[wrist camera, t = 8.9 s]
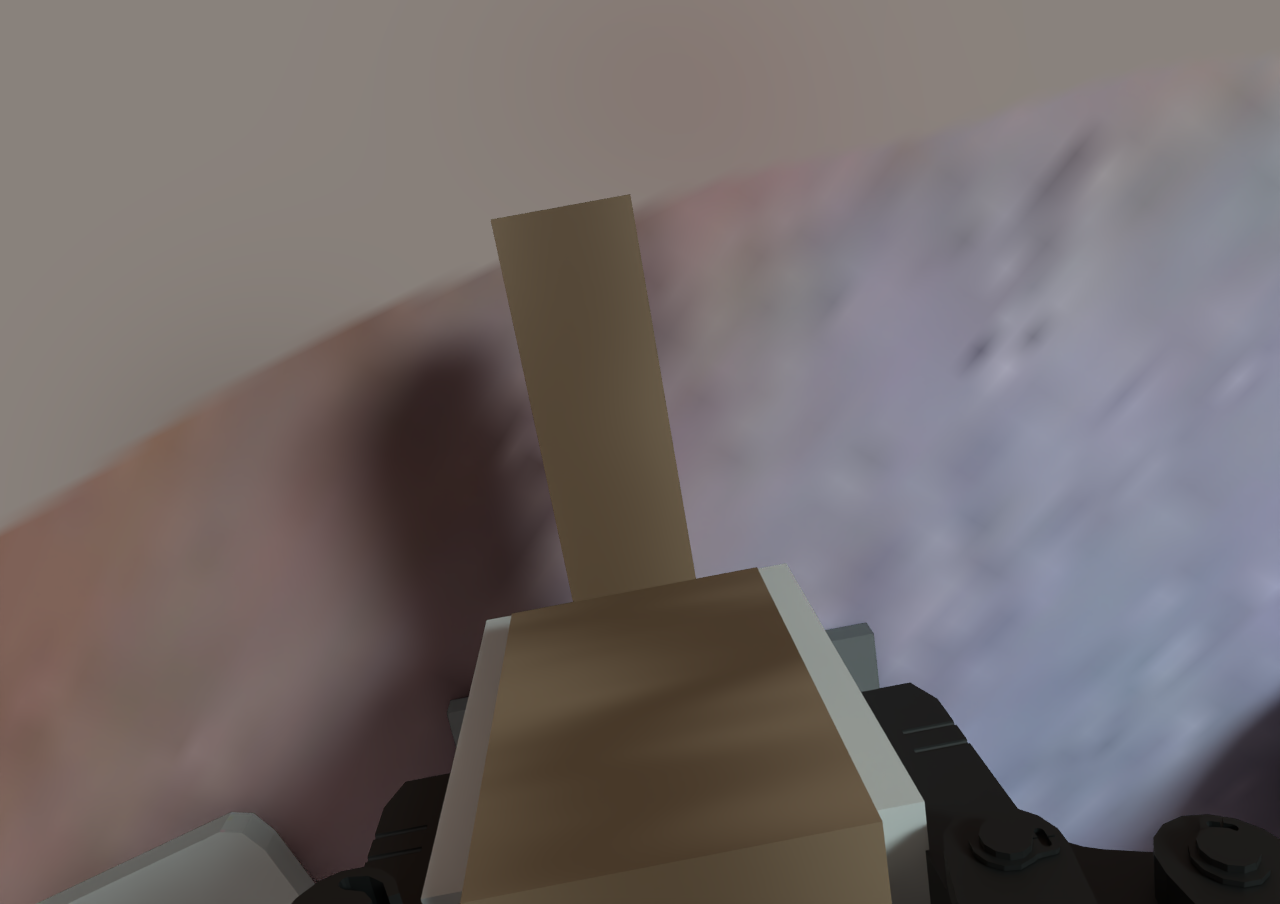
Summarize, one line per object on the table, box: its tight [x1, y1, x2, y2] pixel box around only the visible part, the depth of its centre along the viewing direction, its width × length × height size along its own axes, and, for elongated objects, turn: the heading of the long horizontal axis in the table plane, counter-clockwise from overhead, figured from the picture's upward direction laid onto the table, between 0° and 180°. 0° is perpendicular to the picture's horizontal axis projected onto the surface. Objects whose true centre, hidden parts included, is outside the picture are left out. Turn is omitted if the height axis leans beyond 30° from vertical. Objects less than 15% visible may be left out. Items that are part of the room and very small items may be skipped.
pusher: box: [460, 194, 892, 904], centre depth 13 cm, size 4×16×9 cm, turn 10°
